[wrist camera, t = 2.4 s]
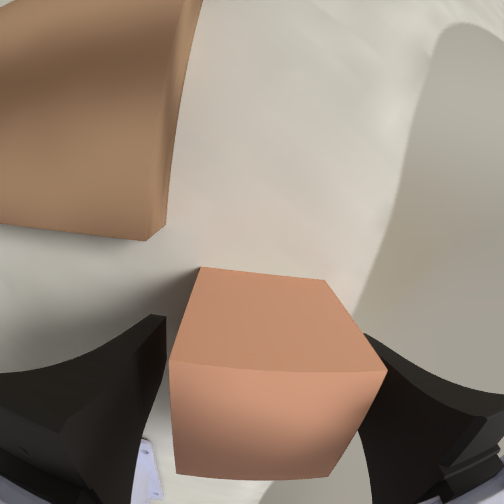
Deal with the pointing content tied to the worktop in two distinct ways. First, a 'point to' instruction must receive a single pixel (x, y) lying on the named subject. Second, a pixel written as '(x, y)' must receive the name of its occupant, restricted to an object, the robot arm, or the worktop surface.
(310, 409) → the terracotta block
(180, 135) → the worktop surface
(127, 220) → the walnut base
